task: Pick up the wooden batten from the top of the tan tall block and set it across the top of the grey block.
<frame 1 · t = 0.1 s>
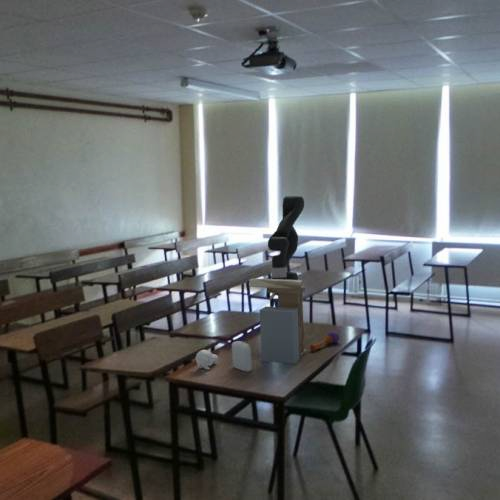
hand: (280, 306, 288), 17 cm above the table, tool pointing down, fingers open, 8 cm apart
kendama: (325, 346, 276), on the table
tan tall block: (288, 353, 267), on the table
grey block: (280, 359, 258), on the table
wooden batten: (276, 287, 265), point 32 cm above the table, touching tan tall block
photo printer: (242, 369, 249), on the table
white rabbit figurine: (208, 367, 254), on the table
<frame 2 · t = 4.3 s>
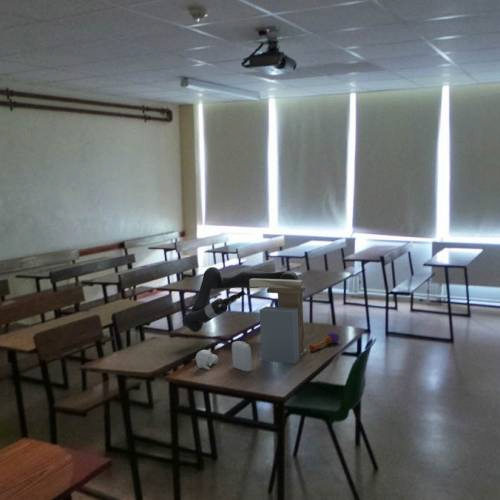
hand: (240, 293, 274), 28 cm above the table, tool pointing upward, fingers open, 8 cm apart
nothing on the table moved.
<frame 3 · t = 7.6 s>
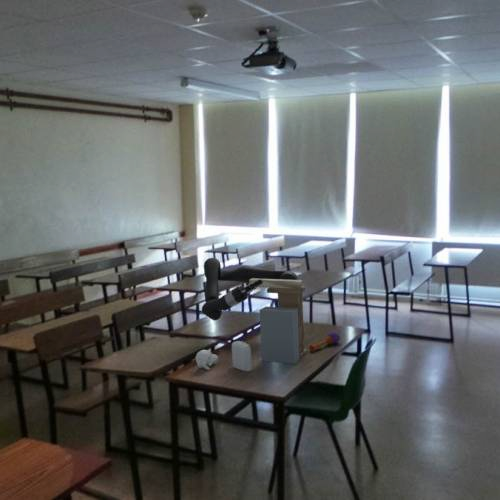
hand: (263, 280, 267), 35 cm above the table, tool pointing upward, fingers closed on wooden batten, 3 cm apart
wooden batten: (276, 287, 265), point 32 cm above the table, touching gripper, tan tall block
everything else where it was.
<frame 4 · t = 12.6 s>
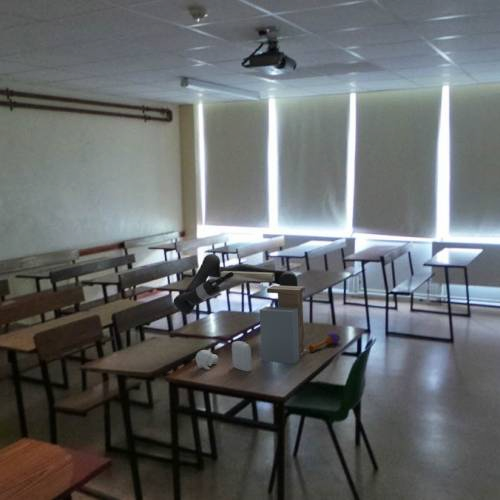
hand: (234, 272, 262), 40 cm above the table, tool pointing upward, fingers closed on wooden batten, 3 cm apart
wooden batten: (247, 279, 260), point 37 cm above the table, touching gripper
everything else where it was.
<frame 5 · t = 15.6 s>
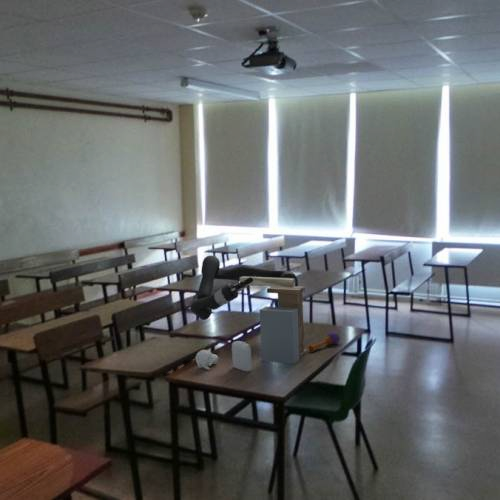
hand: (253, 278, 258), 38 cm above the table, tool pointing upward, fingers closed on wooden batten, 3 cm apart
wooden batten: (267, 285, 256), point 35 cm above the table, touching gripper
when the fingers open (28 cm above the table, at t = 18.0 s): wooden batten stays where it is, resting on grey block.
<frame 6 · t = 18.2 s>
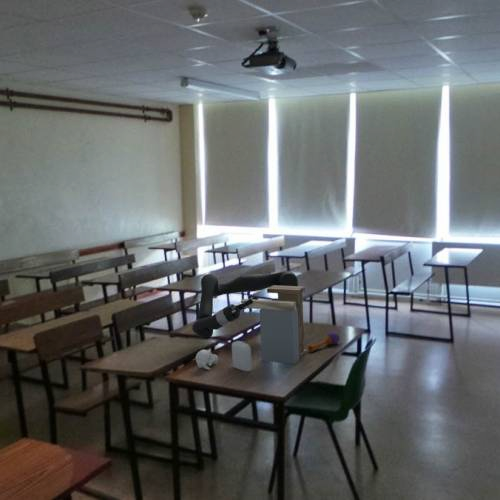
hand: (254, 299, 259), 28 cm above the table, tool pointing upward, fingers open, 5 cm apart
wooden batten: (268, 308, 257), point 24 cm above the table, touching grey block
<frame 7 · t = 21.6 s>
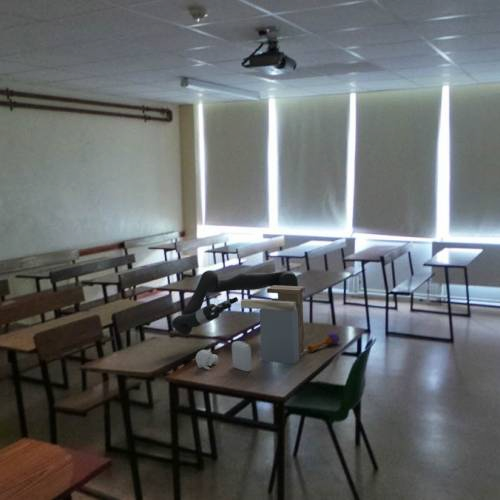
hand: (233, 301, 264), 26 cm above the table, tool pointing upward, fingers open, 8 cm apart
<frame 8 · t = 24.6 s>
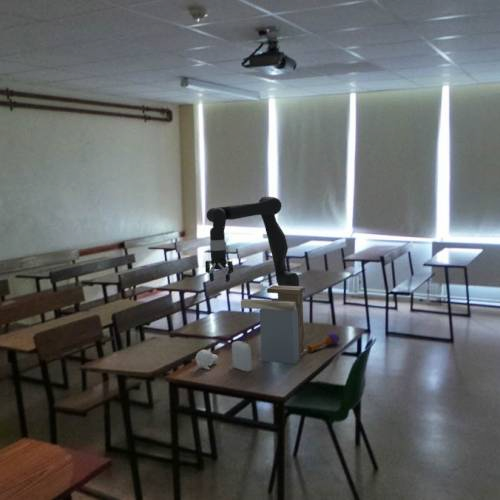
hand: (219, 281, 275), 34 cm above the table, tool pointing down, fingers open, 8 cm apart
at the end: wooden batten inside the target area (0.4 cm from its centre), point 24.0 cm above the table; wooden batten touching grey block; the gripper is holding nothing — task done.
